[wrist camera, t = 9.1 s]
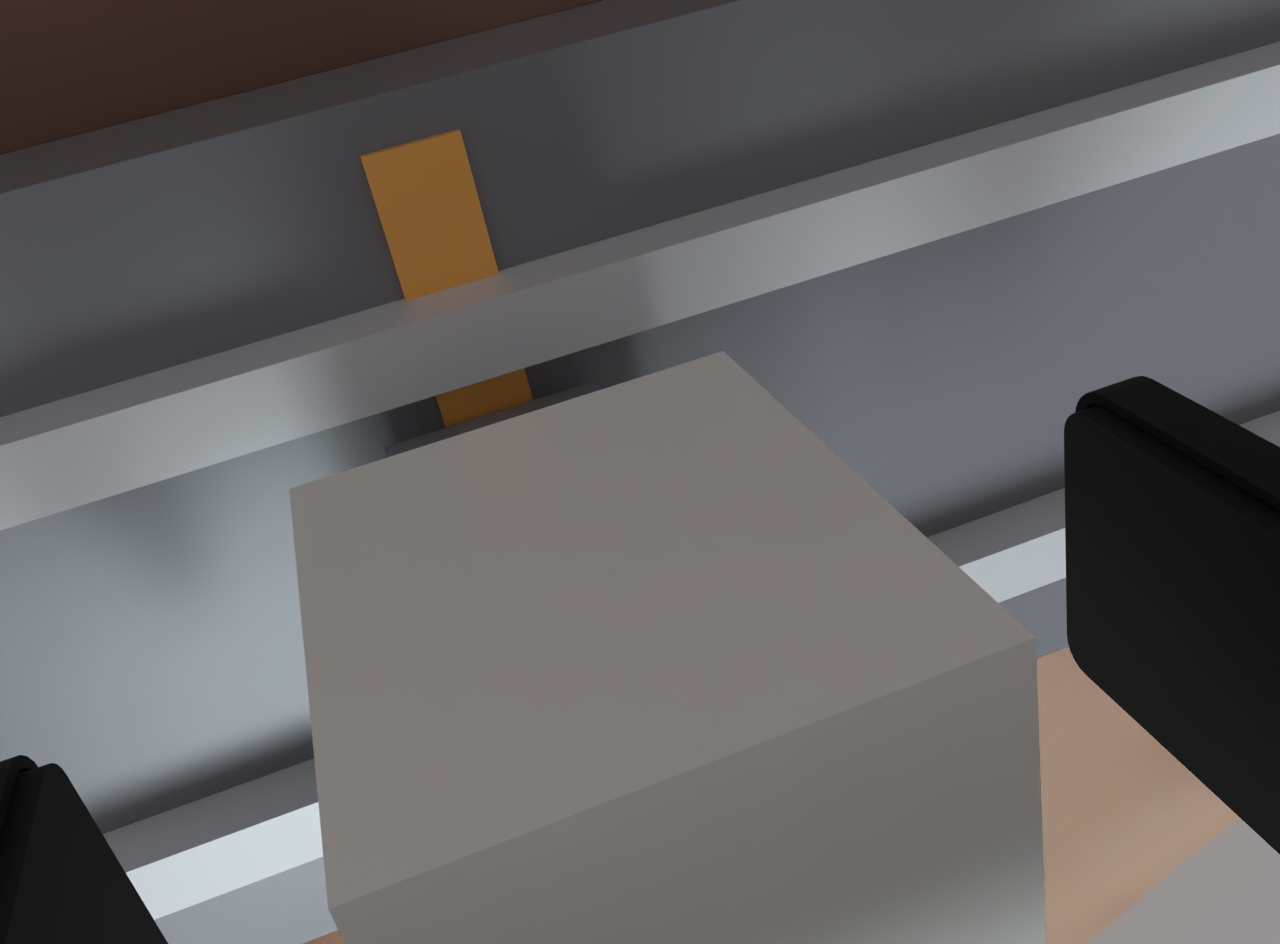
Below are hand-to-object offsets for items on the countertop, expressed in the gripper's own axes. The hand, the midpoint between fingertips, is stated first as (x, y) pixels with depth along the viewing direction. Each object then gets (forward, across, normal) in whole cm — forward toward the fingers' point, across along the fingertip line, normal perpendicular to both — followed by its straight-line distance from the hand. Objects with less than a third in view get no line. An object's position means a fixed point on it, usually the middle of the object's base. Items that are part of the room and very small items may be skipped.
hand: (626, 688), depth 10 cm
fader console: (+6, -6, 0) cm, 8 cm away
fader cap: (+3, 0, 0) cm, 3 cm away
